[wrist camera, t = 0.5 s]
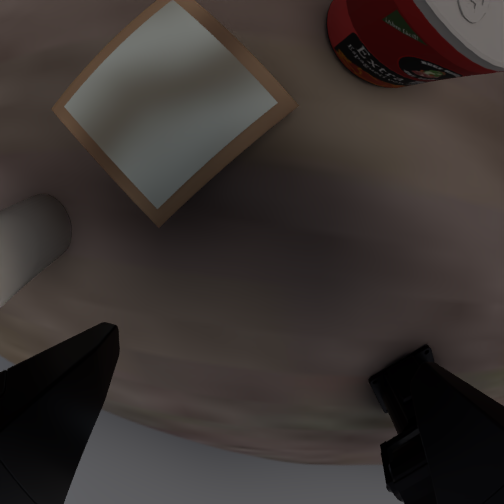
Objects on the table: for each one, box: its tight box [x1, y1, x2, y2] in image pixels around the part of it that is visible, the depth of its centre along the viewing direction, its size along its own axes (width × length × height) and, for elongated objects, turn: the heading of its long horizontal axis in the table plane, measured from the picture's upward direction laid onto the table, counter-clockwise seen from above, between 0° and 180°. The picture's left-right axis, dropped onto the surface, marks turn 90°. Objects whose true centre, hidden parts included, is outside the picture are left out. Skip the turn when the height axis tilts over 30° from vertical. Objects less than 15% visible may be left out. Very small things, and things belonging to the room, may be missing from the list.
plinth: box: [51, 0, 299, 228], centre depth 16 cm, size 10×10×3 cm
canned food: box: [327, 0, 504, 88], centre depth 11 cm, size 8×8×11 cm
